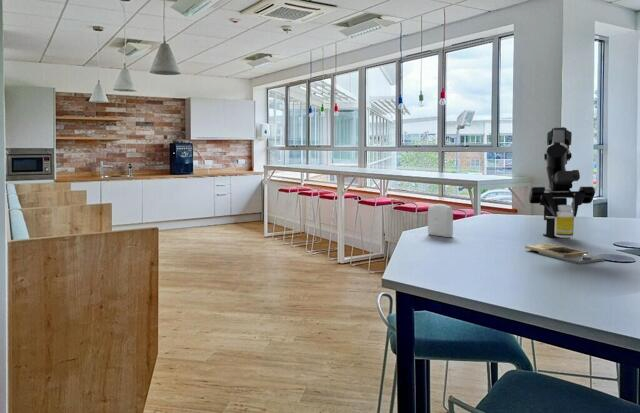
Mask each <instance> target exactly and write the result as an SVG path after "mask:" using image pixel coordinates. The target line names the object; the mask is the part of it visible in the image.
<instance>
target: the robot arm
mask: <svg viewBox="0 0 640 413" xmlns="http://www.w3.org/2000/svg"><path fill="white" fill-rule="evenodd" d="M546 135H547V136H546V144H547V149H546V150H545V151H544V158H543V159H544V161H545V162H546V165H547V166H546V173H547V174H546V175H547V179H548V189H546V187H545V186H531V188H530V191H529V195H528V202H529V203H530V204H539V206H543V220H544V221H546V227H545V230H546V231H545V233H543V234H542V236H545V237H549V238H555V239H557V238H560V237H556V236H555V235H554V231H555V217H556V216H557V213H556V212H558V205H568V199H572V202H571V203H570V205H571V206H572V210H571V212H572V213H573V214H574V218H576V217H577V215H578V210H579V206H581V205H582V204H588V205H589V204H592V202H593V200H594V196H595V194H596V188H595V187H594V186H580V187H579V189H578V191H577V190H575V191H574V190H573V191H572V190H571V189H572V188H573V182H578V181H579V180H580V178H581V175H580V171H579V169H572V170H567V168H566V165H567V164H568V162H570V160H571V159H572V157H573V156H572V153H571V150H570V146H572V136H573V135H572V131H570V130H568V128H567V127H565V126H557V127H555V126H554V127H552V128H551V130H549V132H547V134H546Z"/></svg>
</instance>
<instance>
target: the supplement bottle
mask: <svg viewBox="0 0 640 413" xmlns="http://www.w3.org/2000/svg"><path fill="white" fill-rule="evenodd" d="M556 213H557V216H556V217H555V231H554V235H555V236H556V237H559V238H562V239H565V238H573V237H574V225H575V224H574V221H575V217H574V214H573V211H572V205H571V204H567V205H558V212H556Z"/></svg>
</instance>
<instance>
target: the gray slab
mask: <svg viewBox="0 0 640 413" xmlns="http://www.w3.org/2000/svg"><path fill="white" fill-rule="evenodd" d="M524 248H525V249H528V250H531V251H533V252H538V254H539V255H542V256H547V257H550V258H553V259H559V260H563V261H567V262H571V263H574V264H578V265H583V264H589V263H597V262H604V261H606V258H605V257H602V256H597V255H593V254H590V253H589V251H585V250H582V249H578V248H572V247H568V246H563V245H559V244H556V243H555V244H554V243H550V242H545V243H538V244H537V243H536V244H529V245H525V246H524Z"/></svg>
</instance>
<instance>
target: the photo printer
mask: <svg viewBox="0 0 640 413" xmlns="http://www.w3.org/2000/svg"><path fill="white" fill-rule="evenodd" d="M427 208H428V209H427V234H428V235H429V236H430V235H431V236H438V237H444V238H451V237H453V235H454V214H453V213H454V211H453V208H452V207H451V206H450V205H447V204H444V203H435V204H431V205H429V206H428V207H427Z"/></svg>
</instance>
